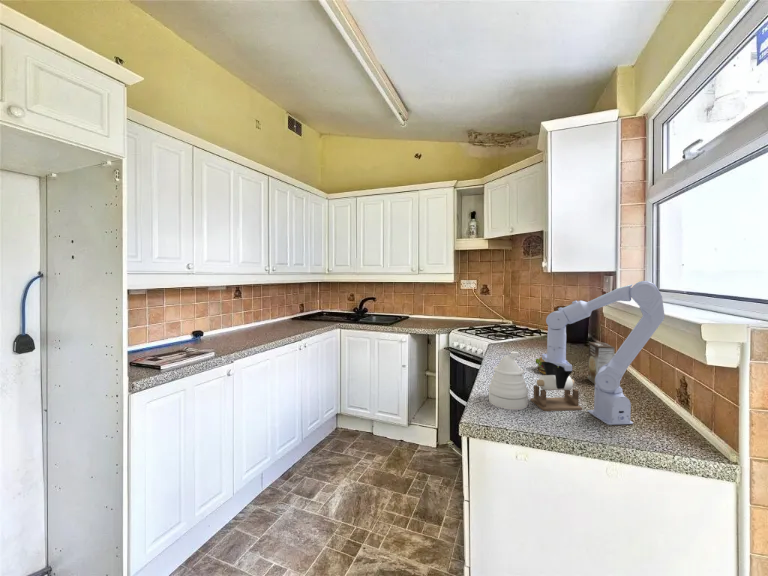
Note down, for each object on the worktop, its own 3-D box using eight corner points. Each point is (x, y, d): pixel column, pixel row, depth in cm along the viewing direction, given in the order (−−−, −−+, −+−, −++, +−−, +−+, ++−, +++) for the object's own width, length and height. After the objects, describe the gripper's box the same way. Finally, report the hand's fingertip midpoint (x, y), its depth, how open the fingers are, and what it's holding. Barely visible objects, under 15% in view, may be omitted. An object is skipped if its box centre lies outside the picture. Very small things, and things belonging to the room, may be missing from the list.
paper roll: (577, 392, 110) (577, 377, 110) (541, 393, 109) (542, 378, 109) (567, 386, 115) (568, 372, 115) (534, 387, 114) (534, 373, 114)
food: (578, 374, 145) (578, 357, 145) (556, 379, 139) (556, 360, 139) (550, 366, 158) (551, 350, 157) (529, 370, 152) (530, 353, 151)
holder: (582, 410, 108) (582, 392, 108) (544, 411, 108) (544, 393, 107) (565, 399, 117) (566, 382, 117) (530, 400, 117) (530, 383, 116)
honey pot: (527, 398, 119) (528, 349, 118) (528, 412, 107) (529, 358, 106) (490, 393, 124) (490, 346, 123) (487, 406, 112) (488, 354, 111)
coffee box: (587, 378, 139) (588, 341, 138) (603, 379, 138) (604, 342, 137) (596, 386, 130) (597, 346, 129) (614, 387, 129) (615, 347, 128)
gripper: (534, 342, 118) (533, 378, 119) (557, 351, 104) (556, 393, 105) (553, 341, 119) (552, 378, 120) (578, 351, 104) (577, 393, 105)
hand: (555, 385), depth 112 cm, fingers closed on paper roll, 5 cm apart
